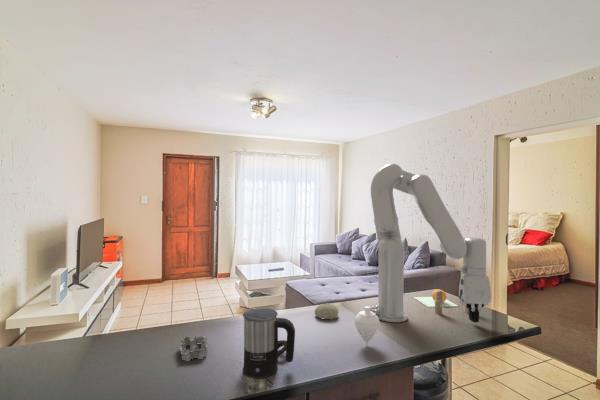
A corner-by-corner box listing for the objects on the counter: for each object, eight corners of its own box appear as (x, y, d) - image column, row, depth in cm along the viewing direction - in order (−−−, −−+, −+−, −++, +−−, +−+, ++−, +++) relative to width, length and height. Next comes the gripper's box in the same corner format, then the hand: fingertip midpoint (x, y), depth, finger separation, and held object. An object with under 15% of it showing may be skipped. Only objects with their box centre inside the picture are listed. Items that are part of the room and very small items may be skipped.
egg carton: (180, 347, 98) (181, 334, 98) (206, 344, 100) (206, 331, 100) (179, 364, 88) (179, 349, 88) (207, 360, 90) (208, 345, 90)
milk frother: (243, 381, 79) (244, 321, 79) (238, 352, 94) (239, 302, 94) (299, 374, 83) (299, 316, 83) (285, 347, 98) (286, 298, 98)
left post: (437, 314, 129) (437, 292, 129) (433, 312, 132) (434, 290, 132) (443, 314, 130) (443, 292, 130) (439, 312, 132) (440, 290, 132)
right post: (467, 313, 131) (468, 291, 131) (463, 311, 133) (464, 290, 133) (473, 313, 131) (474, 291, 131) (469, 311, 133) (470, 289, 134)
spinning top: (379, 341, 103) (380, 304, 103) (379, 352, 95) (379, 312, 96) (355, 338, 105) (356, 302, 105) (353, 349, 98) (353, 309, 98)
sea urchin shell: (308, 310, 127) (321, 294, 130) (320, 322, 129) (333, 306, 132) (319, 317, 119) (333, 300, 121) (332, 330, 121) (345, 313, 124)
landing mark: (427, 307, 139) (427, 306, 139) (413, 297, 153) (413, 297, 153) (458, 306, 140) (458, 306, 140) (441, 297, 154) (441, 296, 154)
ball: (429, 288, 148) (430, 302, 148) (434, 290, 142) (435, 304, 142) (442, 288, 148) (443, 301, 147) (448, 289, 142) (449, 303, 142)
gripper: (461, 273, 114) (460, 325, 114) (500, 273, 116) (500, 324, 115) (449, 269, 122) (449, 317, 121) (486, 269, 123) (486, 317, 123)
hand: (473, 321), depth 118 cm, fingers closed
